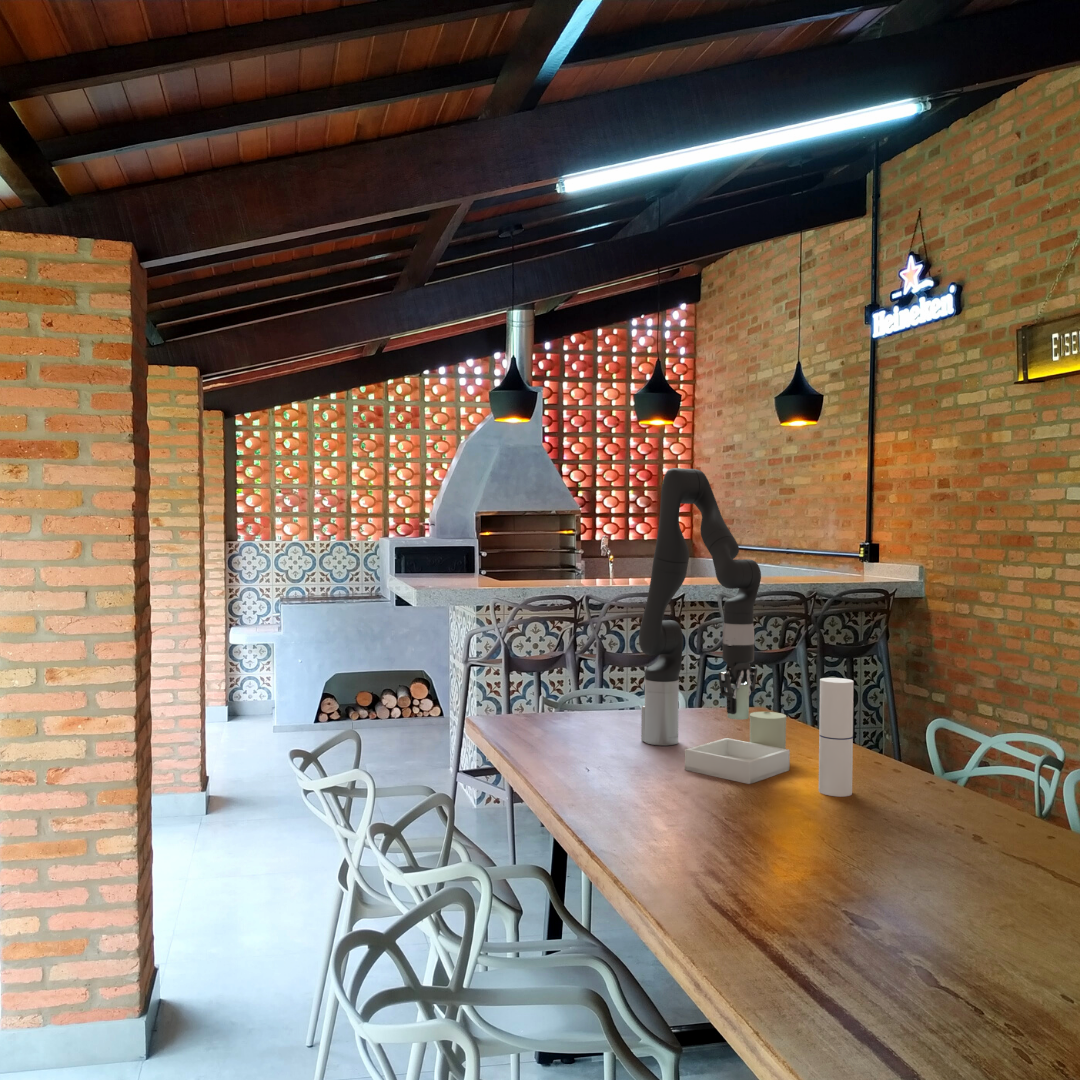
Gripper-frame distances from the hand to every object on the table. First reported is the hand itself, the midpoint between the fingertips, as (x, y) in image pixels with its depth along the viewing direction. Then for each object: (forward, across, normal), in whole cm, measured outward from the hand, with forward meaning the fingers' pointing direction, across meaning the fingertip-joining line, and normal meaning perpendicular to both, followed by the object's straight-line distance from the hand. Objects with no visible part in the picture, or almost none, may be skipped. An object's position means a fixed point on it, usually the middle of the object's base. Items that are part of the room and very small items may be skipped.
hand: (737, 711), depth 234 cm
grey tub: (+14, 0, 0) cm, 14 cm away
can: (+14, -14, 0) cm, 20 cm away
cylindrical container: (+14, +1, +26) cm, 30 cm away
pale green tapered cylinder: (+1, 0, 0) cm, 1 cm away
